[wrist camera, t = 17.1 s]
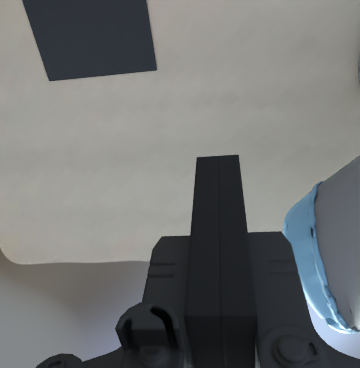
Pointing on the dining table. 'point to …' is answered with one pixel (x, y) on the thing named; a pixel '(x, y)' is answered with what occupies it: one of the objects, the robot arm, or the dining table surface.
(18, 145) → the dining table surface
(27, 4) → the table runner
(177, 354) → the robot arm
